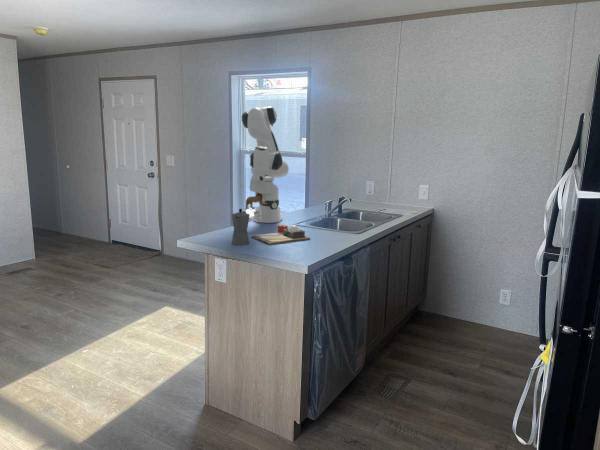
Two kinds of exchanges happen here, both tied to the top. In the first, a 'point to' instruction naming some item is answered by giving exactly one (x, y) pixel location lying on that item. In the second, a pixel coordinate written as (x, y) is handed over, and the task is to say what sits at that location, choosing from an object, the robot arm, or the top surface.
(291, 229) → the dome
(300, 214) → the top surface
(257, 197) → the lion figurine
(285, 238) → the wooden cutting board
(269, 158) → the robot arm
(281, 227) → the red die
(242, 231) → the coffeepot
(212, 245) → the top surface
